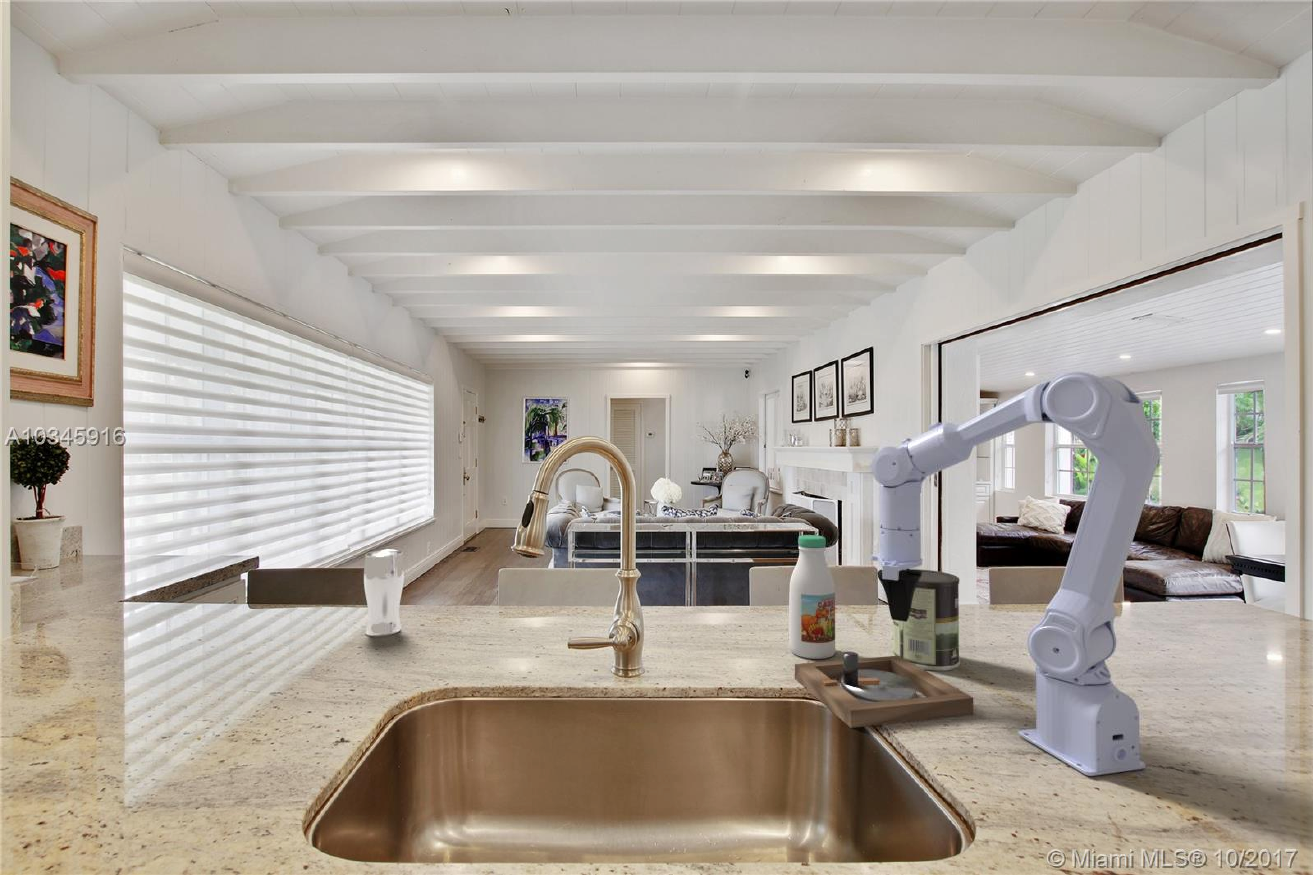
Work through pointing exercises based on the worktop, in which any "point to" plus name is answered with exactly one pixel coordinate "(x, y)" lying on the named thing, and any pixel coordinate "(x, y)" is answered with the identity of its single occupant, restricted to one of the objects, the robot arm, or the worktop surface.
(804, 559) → the milk bottle
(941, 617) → the coffee can
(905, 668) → the frame
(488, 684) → the worktop surface
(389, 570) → the beer glass
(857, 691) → the dial
